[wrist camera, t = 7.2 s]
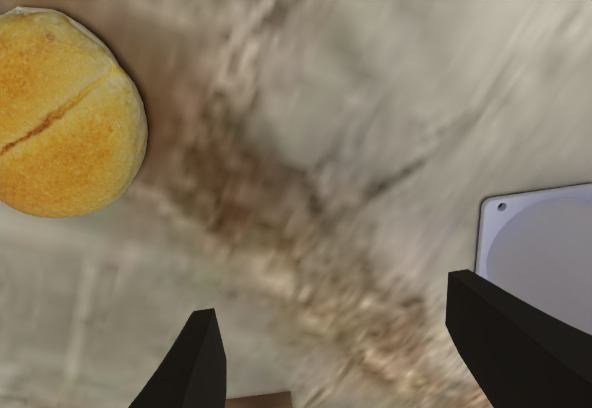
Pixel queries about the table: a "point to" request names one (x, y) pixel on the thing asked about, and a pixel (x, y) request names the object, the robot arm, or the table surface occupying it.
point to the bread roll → (64, 117)
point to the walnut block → (261, 401)
